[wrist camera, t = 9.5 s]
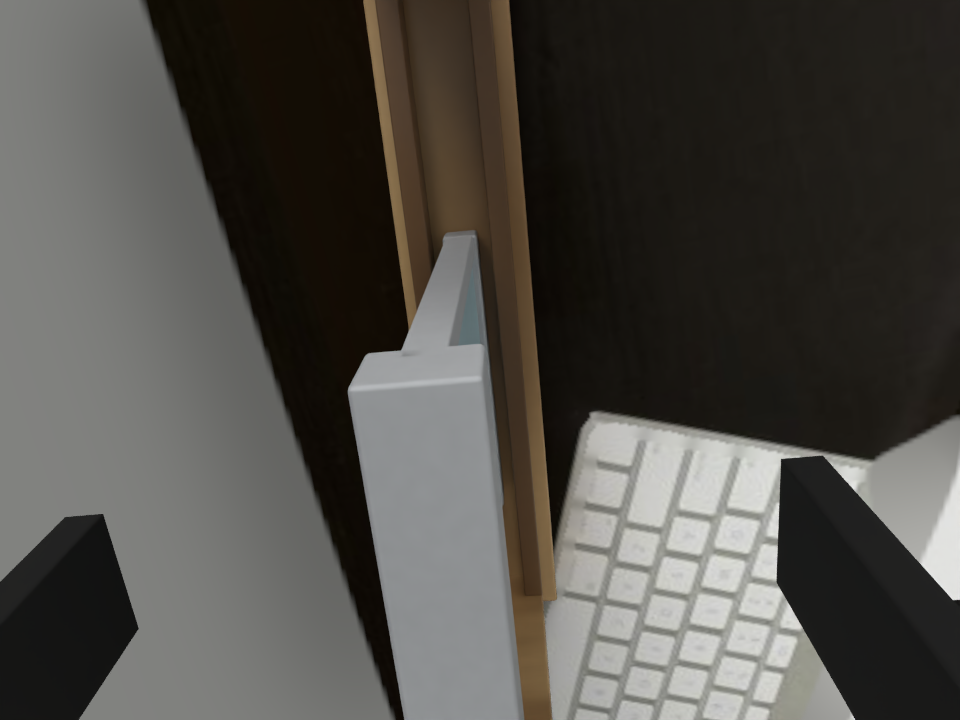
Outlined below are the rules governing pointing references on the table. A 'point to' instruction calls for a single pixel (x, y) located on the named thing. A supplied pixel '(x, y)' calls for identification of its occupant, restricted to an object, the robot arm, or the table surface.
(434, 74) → the brown wooden l-shape
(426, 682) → the grey rectangular block
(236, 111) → the table surface
